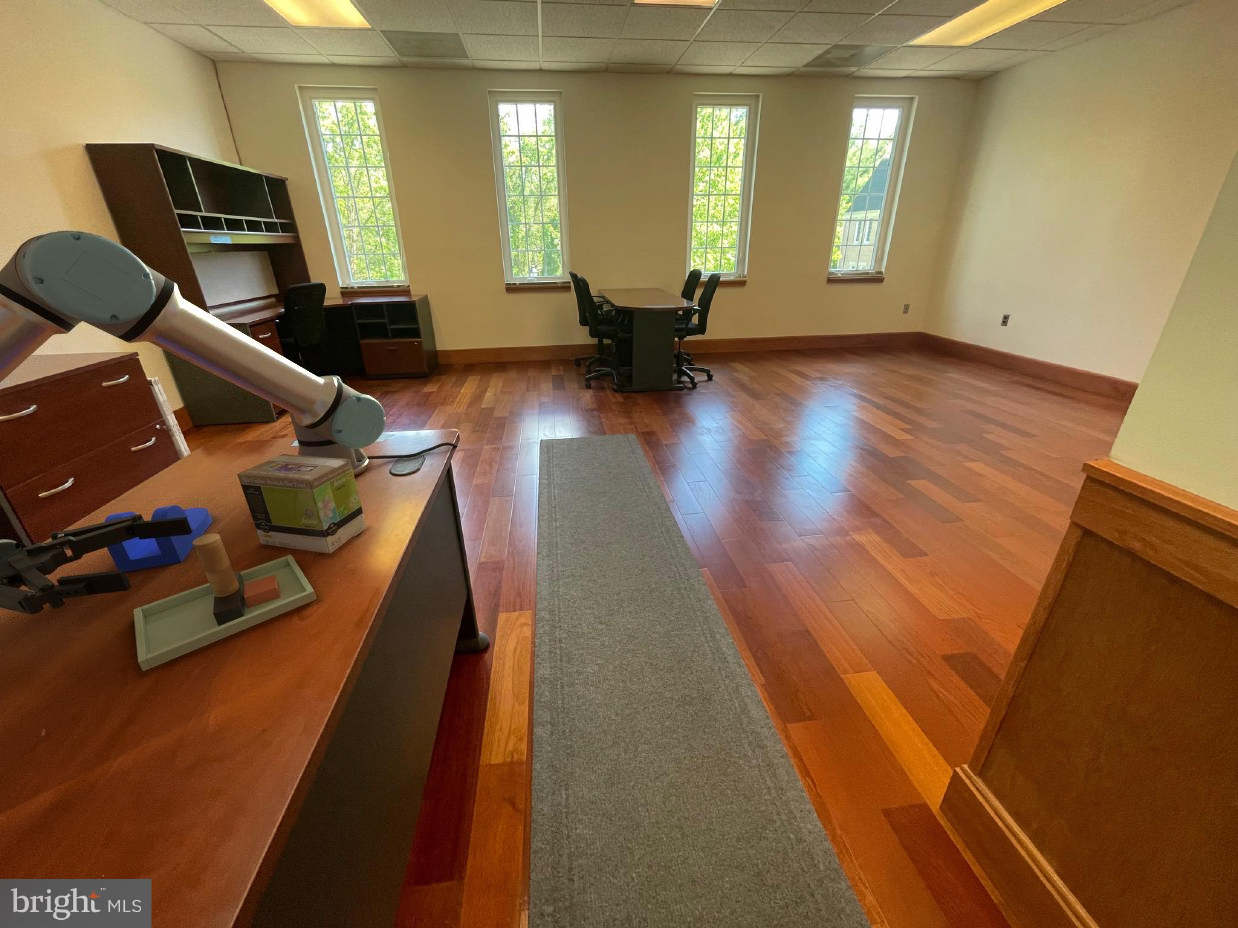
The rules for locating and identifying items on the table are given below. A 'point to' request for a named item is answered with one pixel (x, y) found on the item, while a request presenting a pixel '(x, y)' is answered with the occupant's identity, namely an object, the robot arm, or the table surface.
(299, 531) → the tea box
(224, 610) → the brush
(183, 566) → the table surface
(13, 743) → the table surface
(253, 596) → the orange flat block
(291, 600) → the tray
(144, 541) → the bracket
